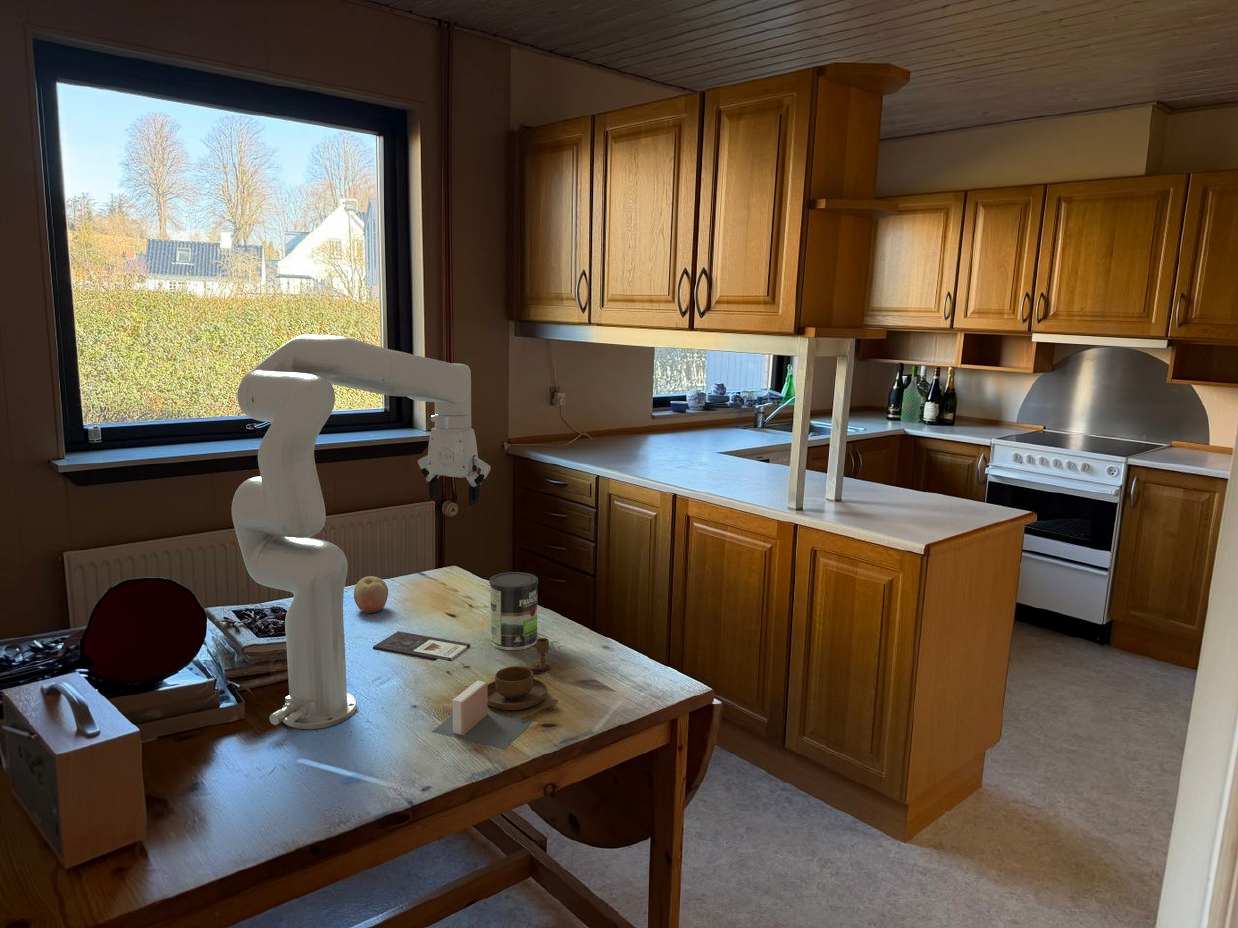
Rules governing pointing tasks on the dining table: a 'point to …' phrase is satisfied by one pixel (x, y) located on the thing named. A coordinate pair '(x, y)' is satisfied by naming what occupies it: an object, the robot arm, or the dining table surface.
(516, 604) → the coffee can
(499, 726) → the mat
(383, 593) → the fruit
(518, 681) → the place setting
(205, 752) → the dining table surface
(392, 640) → the chocolate bar
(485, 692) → the tile
